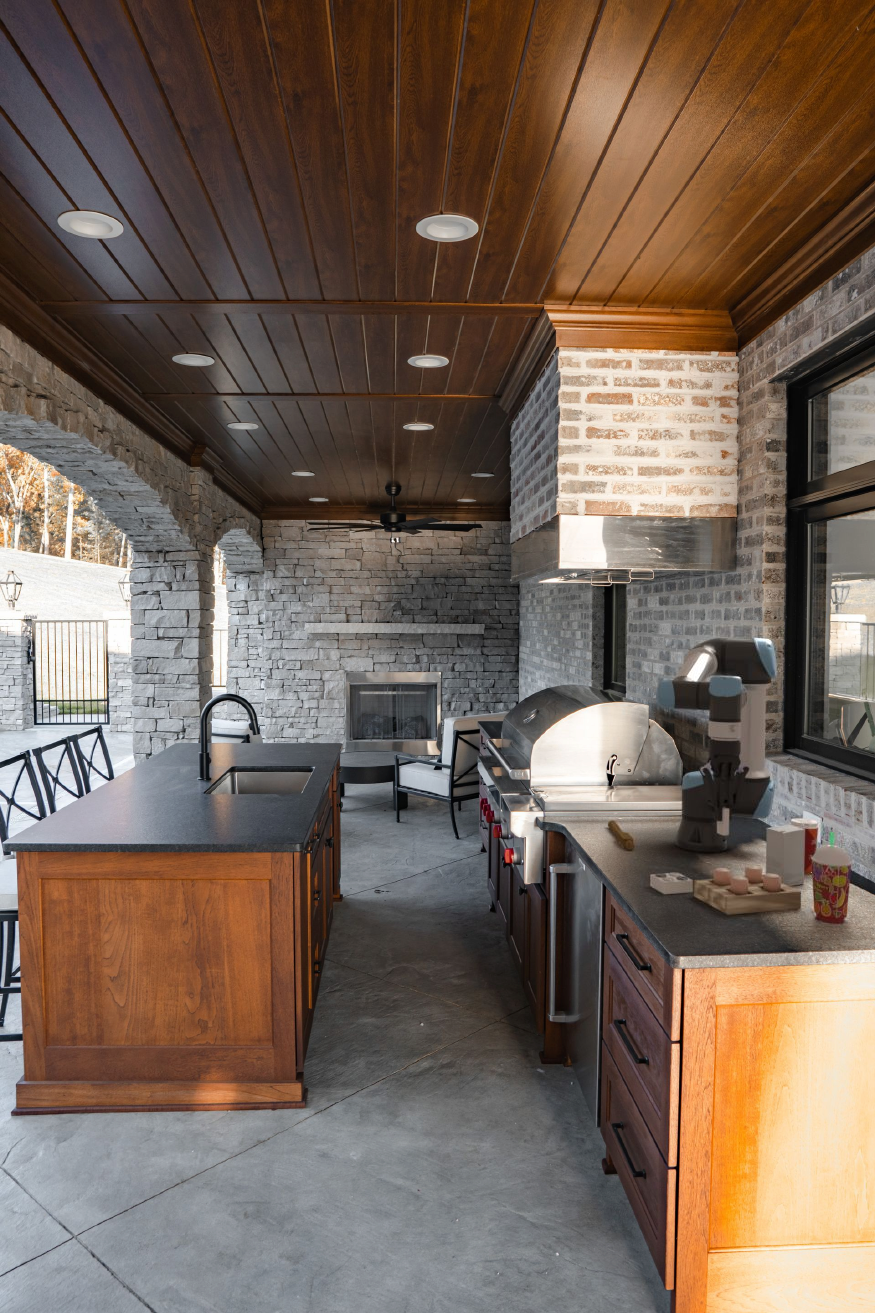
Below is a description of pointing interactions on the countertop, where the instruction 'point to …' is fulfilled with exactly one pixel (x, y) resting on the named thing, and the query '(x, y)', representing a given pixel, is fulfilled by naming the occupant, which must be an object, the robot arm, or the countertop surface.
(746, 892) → the button
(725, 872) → the button
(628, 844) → the tap handle
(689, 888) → the white flat block
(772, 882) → the button
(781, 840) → the skincare box
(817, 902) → the smoothie
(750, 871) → the button
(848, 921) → the countertop surface
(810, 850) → the paper cup
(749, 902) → the board
